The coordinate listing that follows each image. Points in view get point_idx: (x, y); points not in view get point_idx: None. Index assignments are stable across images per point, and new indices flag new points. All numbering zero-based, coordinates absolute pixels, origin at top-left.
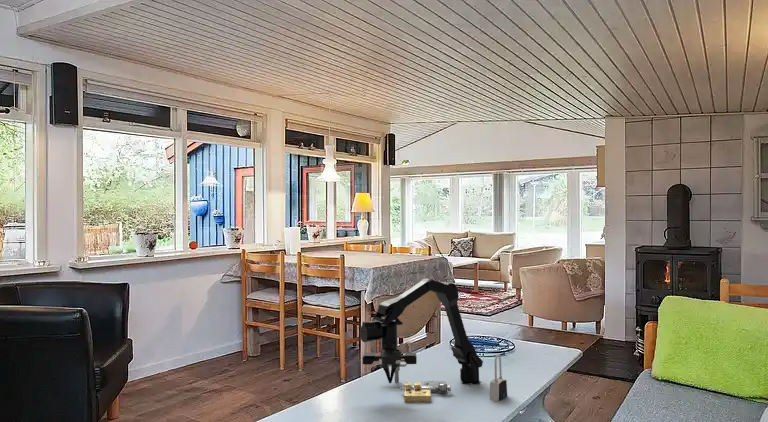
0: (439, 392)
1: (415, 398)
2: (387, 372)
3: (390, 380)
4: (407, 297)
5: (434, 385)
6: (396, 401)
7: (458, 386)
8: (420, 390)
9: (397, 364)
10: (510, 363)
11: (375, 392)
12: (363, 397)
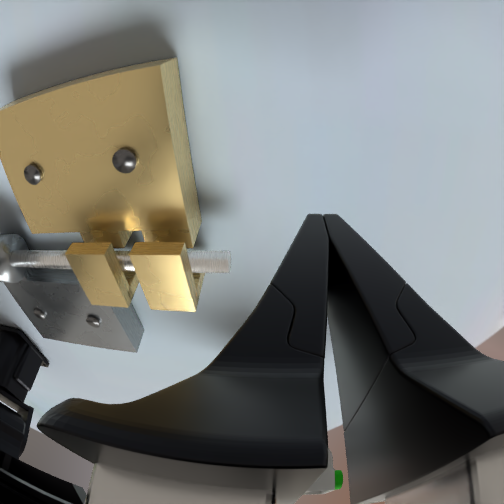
0: (16, 235)
1: (79, 80)
2: (394, 309)
3: (322, 230)
4: None
5: (51, 297)
6: (249, 66)
7: (19, 313)
8: (73, 216)
9: (130, 468)
10: (29, 403)
11: (404, 262)
12: (490, 178)
